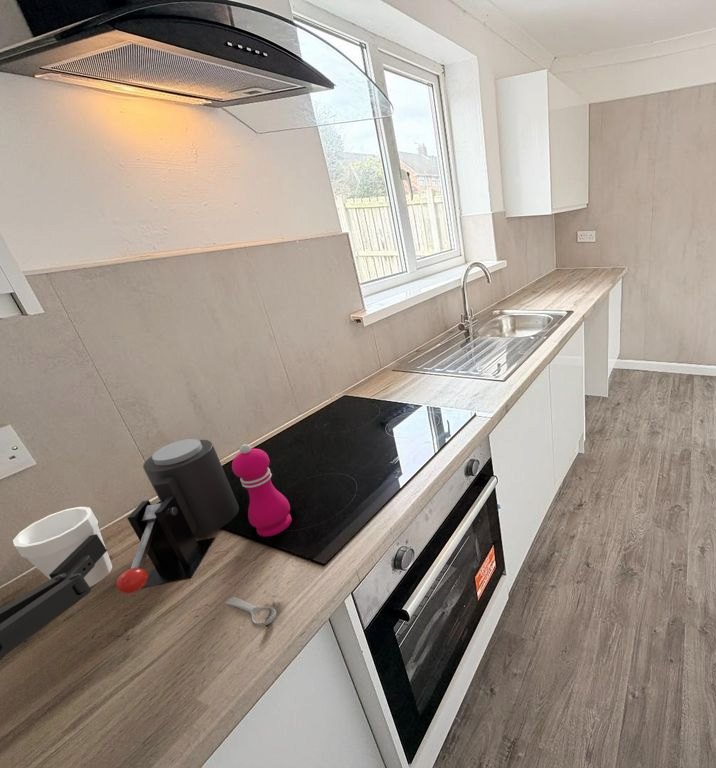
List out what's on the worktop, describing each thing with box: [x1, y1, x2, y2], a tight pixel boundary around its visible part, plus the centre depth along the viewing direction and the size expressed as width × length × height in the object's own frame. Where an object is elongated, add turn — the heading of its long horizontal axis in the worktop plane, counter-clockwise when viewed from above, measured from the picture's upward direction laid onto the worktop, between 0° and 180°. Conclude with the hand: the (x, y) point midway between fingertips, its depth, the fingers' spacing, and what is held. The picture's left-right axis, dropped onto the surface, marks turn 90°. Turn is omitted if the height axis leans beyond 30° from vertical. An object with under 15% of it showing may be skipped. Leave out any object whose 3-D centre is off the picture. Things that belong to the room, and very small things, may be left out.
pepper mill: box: [231, 443, 293, 538], centre depth 79 cm, size 7×7×20 cm
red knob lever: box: [115, 502, 162, 594], centre depth 68 cm, size 14×4×4 cm, turn 12°
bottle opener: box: [225, 596, 277, 626], centre depth 66 cm, size 3×12×2 cm, turn 67°
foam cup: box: [12, 506, 113, 588], centre depth 72 cm, size 10×9×13 cm
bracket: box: [126, 496, 217, 590], centre depth 73 cm, size 10×8×14 cm
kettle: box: [142, 438, 240, 539], centre depth 83 cm, size 16×11×18 cm
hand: (35, 557), depth 51 cm, fingers open, 13 cm apart
